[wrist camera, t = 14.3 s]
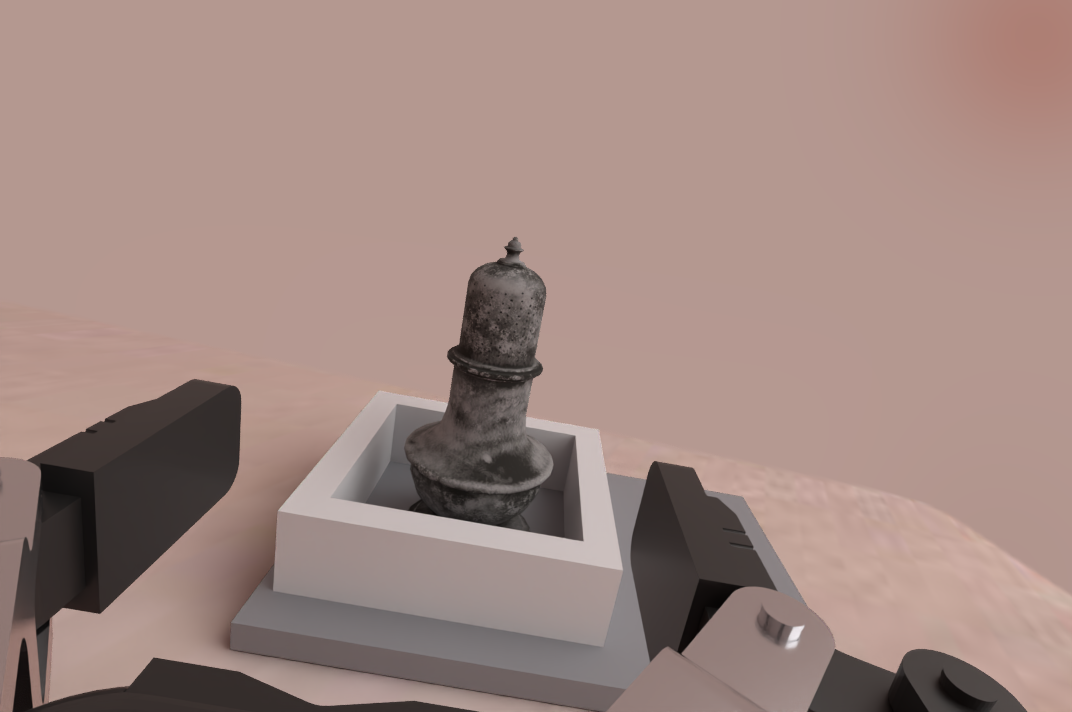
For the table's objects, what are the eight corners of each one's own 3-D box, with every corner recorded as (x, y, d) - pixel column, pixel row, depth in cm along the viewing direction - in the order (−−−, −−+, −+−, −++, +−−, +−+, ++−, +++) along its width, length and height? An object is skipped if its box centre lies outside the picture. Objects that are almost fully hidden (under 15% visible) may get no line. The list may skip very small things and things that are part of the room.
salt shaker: (435, 477, 28) (472, 220, 24) (554, 516, 26) (611, 249, 23) (364, 542, 22) (399, 222, 19) (509, 596, 21) (575, 260, 17)
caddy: (230, 649, 18) (233, 536, 17) (369, 448, 31) (376, 378, 30) (870, 757, 18) (917, 653, 17) (737, 512, 32) (758, 446, 31)
